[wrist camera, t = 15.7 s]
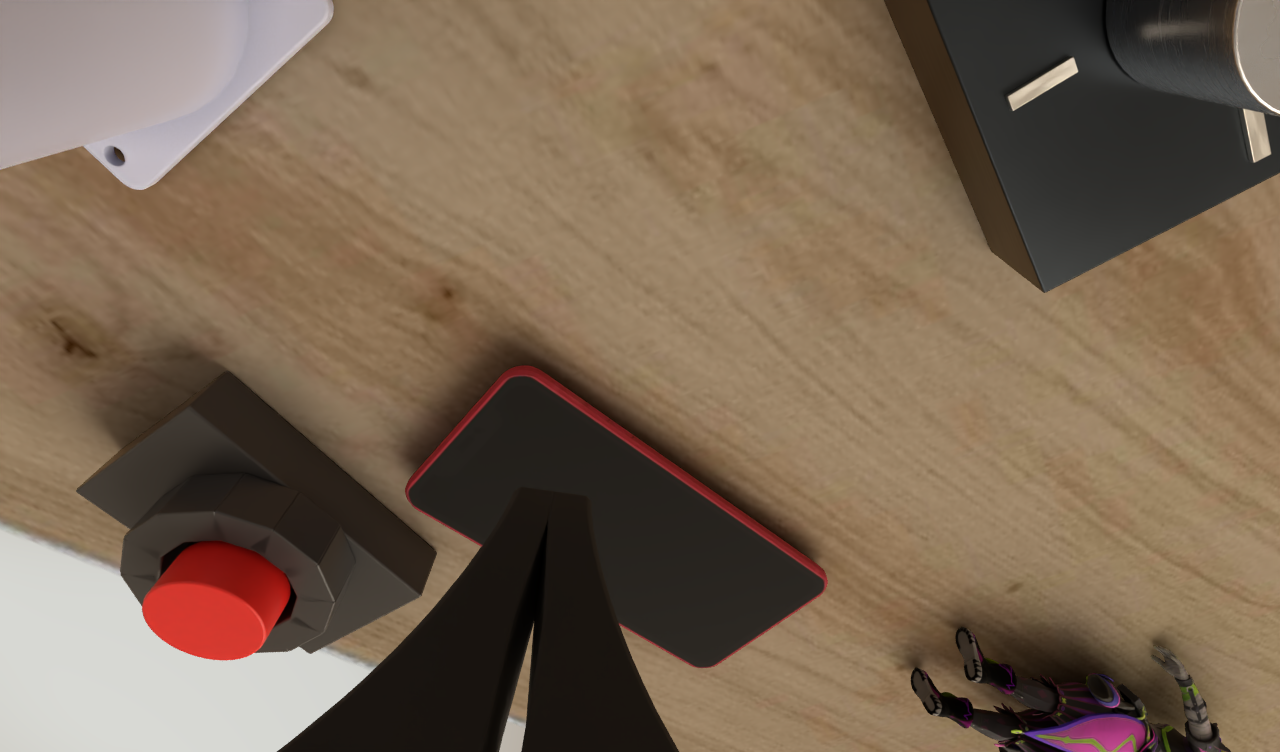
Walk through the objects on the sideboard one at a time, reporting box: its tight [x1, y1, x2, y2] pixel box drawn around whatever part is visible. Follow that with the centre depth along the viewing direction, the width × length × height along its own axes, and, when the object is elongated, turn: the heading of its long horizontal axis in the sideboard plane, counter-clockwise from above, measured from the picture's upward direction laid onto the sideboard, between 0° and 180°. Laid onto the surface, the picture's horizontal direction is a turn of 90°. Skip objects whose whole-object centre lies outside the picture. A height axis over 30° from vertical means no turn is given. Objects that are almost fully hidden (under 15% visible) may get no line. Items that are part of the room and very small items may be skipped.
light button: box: [142, 541, 291, 660], centre depth 21 cm, size 4×4×2 cm
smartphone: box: [405, 365, 828, 668], centre depth 24 cm, size 7×1×15 cm
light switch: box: [76, 371, 437, 654], centre depth 23 cm, size 10×6×4 cm, turn 34°
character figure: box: [911, 627, 1231, 752], centre depth 29 cm, size 9×4×16 cm
